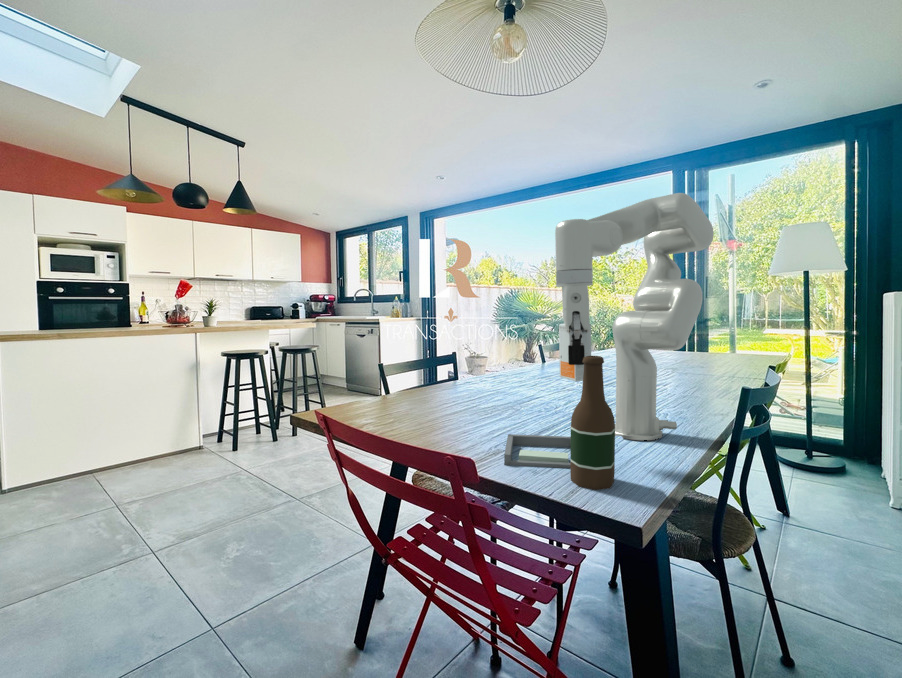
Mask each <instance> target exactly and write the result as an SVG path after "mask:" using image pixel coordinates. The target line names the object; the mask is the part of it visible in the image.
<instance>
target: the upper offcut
mask: <svg viewBox="0 0 902 678" xmlns="http://www.w3.org/2000/svg"><path fill="white" fill-rule="evenodd" d="M518 453H519V454H518V460H523V461H543V462H564V463H569V452H559V451H544V450H528V449H527V450H526V449H519V452H518Z"/></svg>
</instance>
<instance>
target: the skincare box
mask: <svg viewBox="0 0 902 678" xmlns="http://www.w3.org/2000/svg"><path fill="white" fill-rule="evenodd" d="M580 330H581V328H580ZM571 331H574V328H573V330H571ZM586 332H587V330H584V329H583V345H584V353H585V357H586V356H592V325H591V323H590V331H589V332H588V333H586ZM558 334H559V335H558V336H559V337H558V340H559V341H558V342H559V343H558V345H559V346H558V348H559V352H558V353H559V357H558V359H559V378H563V379H567V380H568V381H569V380H571V381H574V382H583V373H584V365H570V364H569V361H568V346H570V343H569V333H567V332H566V331H565V326H564V323H560V324H558Z"/></svg>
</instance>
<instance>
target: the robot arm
mask: <svg viewBox="0 0 902 678" xmlns="http://www.w3.org/2000/svg"><path fill="white" fill-rule="evenodd" d="M713 227H714V226H713V225H712V222H711V221H710V219H709V218H708V216H707V214H706V213H705V212H704V210H703V209H702V208H701V207H700V204H698V203H697V201H695V200H694V199H693V198H692V197H691V196H690V195H689V194H687V193H684V192H676V193H675V192H674V193H672V194H666V195H662V196H656V197H652V198H648V199H644V200H641V201H638V202H635V203H634V204H631V205H629V206H625V207H622V208H620V209H617V210H613V211H609V212H607V213H605V214H602V215H600V216H596V217H592V218H590V219H583V218H574V219H571V218H570V219H566V220H562V221H560V222H558V223H557V224H556V226H555V230H554V231H555V233H554V237H555V277H556V278H555V279H556V280H555V283H556V285H555V287H556V288H561V292H562V293H561V294H562V295H561V299H562V317H563V318H562V320H563V324H564V326H565V331H566V332H567V333H569V343H570V346H568V361H569V364H570V365H584V363H583V362H582V361H583V358H584V357H585V353H584V345H583V329H584V330H587V332H586V333H588V332H589V331H590V324H591V323H590V321H591V320H590V299H589V286H593V285H594V283H593V281H594V277H593V276H594V275H593V273H594V272H593V258H596V257H604V256H609V255H612V254H614V253H616V252H617V251H618V250H619V249H620V248H621V246H623V245H627V244H631V243H634V242H637V241H638V240H640V239H643V248H644V253H645V254H644V255H645V259H646V265H647V271H646V272H645V275H644V277H643V278H642V280H641V282H640V284H639V286H638V288H637V290H636V293H635V294H634V296H633V297H634V298H633V302H632V306H633V309H634V310H629V311H624V312H621V313H620V314H618V315H617V316H616V317H615V318H614V320H613V322H612V336H613V337H612V338H613V342H614V347H615V358H616V360H615V364H616V365H615V367H616V370H615V371H616V372H615V373H616V374H615V375H616V377H615V437H622V439H625V440H632V441H644V440H647V441H656V440H659V439H661V438H662V437H663V430H664V429H667V430H677V428H678V425H677V424H678V423H677V422H676V421H671V420H670V421H669V420H668V419H659V418H658V417H657V381H658V380H657V379H658V378H657V377H658V376H657V374H658V367H657V363H656V360H655V359H654V357H653V356H652V353H651V352H650V350H654V351H655V350H656V351H657V350H658V351H678V350H680V349H682V348H683V347H684V346H685V345H686V344H687V342H688V340H689V337H690V336H691V332H692V331H693V328H694V326H695V323H696V322H697V319H698V316H699V314H700V312H701V310H702V304H703V291H702V290H703V289H702V287H701V286H700V284H699V283H698V282H697V281H695V280H694V279H690V278H681V277H682V270H681V269H680V267H679V266H678V264H677V263H676V262H675V261H674V260H673V259H672V258H671V257H670V255H675V254H684V253H693V252H695V253H696V252H700V251H703V250H706V249H708V248H709V247H710V245H712V242H713V240H714V235H715V232H714V228H713ZM573 328H574V331H571V330H573ZM580 328H581V330H580ZM658 438H659V439H658ZM655 439H656V440H655Z"/></svg>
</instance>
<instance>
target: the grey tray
mask: <svg viewBox="0 0 902 678" xmlns="http://www.w3.org/2000/svg"><path fill="white" fill-rule="evenodd" d="M514 446H523V447H545V448H546V447H548V448H549V447H550V448H568V449H569V448H570V449H571V436H566V435H565V436H561V435H560V436H559V435H539V434H538V435H536V434H535V435H533V434H511V433H510V434H509V433H508V434H507V439H506V444H505V450H504V456H503V458H504V459H503V460H504V463H503V464H504V466H518V467H519V466H520V467H535V468H536V467H539V468H555V469H556V468H557V469H571V462H568V463H564V462H543V461H523V460H519V459H512V457H513V450H514V449H513V447H514Z"/></svg>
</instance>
